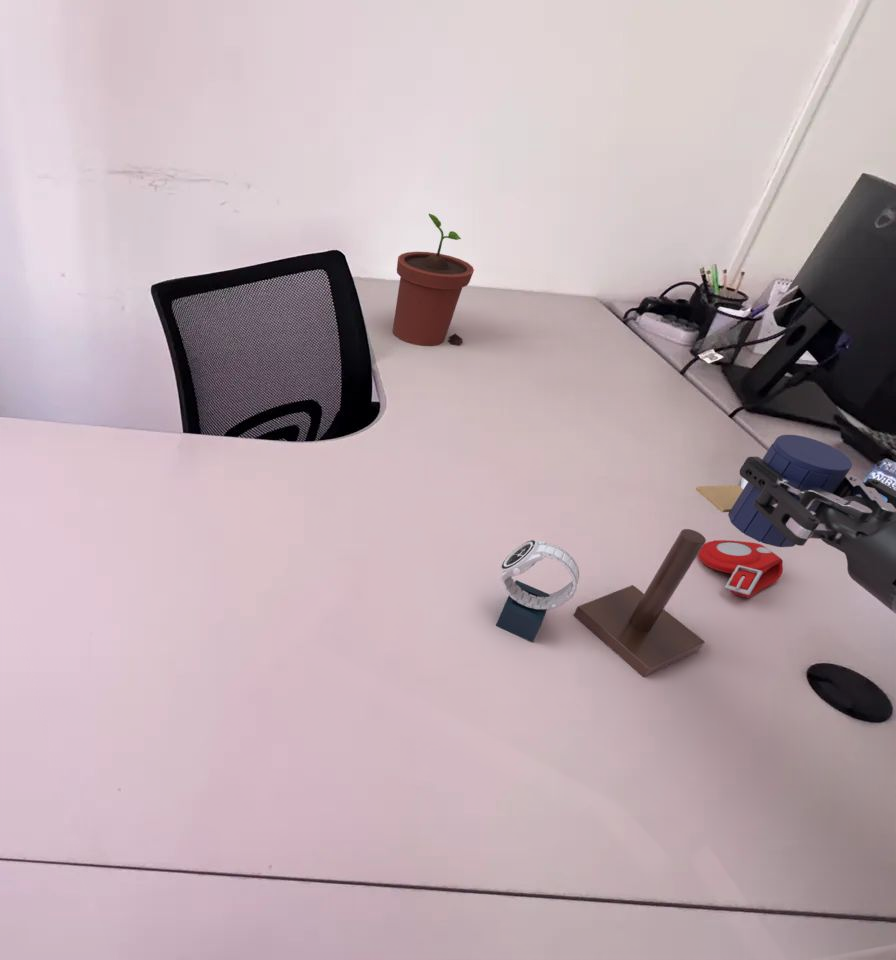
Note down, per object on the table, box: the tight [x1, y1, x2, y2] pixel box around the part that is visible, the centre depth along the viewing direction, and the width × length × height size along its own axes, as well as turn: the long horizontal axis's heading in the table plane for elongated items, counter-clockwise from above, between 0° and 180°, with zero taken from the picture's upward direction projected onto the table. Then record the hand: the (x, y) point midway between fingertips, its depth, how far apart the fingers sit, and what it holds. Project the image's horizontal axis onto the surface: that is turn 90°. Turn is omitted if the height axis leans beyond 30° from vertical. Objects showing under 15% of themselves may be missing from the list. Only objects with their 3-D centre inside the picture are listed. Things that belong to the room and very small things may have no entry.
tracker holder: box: [697, 539, 784, 599], centre depth 89 cm, size 12×4×10 cm
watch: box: [495, 539, 580, 643], centre depth 77 cm, size 6×8×11 cm
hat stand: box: [573, 528, 707, 678], centre depth 76 cm, size 10×10×15 cm
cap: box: [695, 434, 853, 548], centre depth 66 cm, size 10×6×9 cm, turn 10°
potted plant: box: [392, 213, 475, 347], centre depth 144 cm, size 18×22×25 cm
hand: (775, 463), depth 65 cm, fingers closed on cap, 6 cm apart
